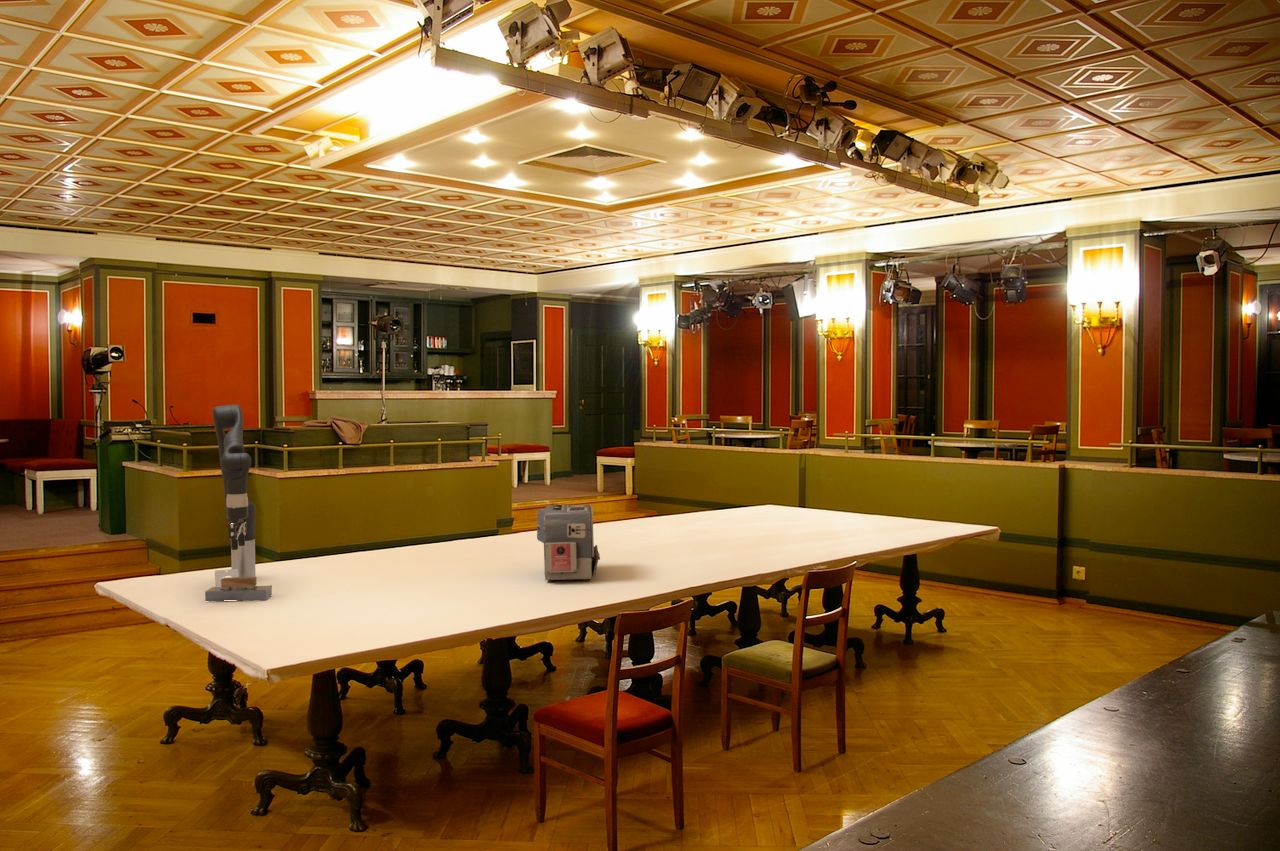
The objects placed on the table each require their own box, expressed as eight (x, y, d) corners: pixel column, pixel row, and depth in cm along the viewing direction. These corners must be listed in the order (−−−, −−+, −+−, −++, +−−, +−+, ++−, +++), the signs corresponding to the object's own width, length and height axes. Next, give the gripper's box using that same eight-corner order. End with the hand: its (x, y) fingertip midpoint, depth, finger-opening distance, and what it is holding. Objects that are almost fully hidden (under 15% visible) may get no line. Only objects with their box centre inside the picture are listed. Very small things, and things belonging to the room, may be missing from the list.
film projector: (598, 585, 384) (597, 511, 383) (526, 585, 385) (525, 511, 383) (604, 566, 423) (603, 500, 422) (538, 567, 424) (538, 500, 423)
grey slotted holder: (212, 597, 364) (212, 587, 364) (271, 595, 367) (271, 585, 367) (205, 602, 357) (205, 591, 356) (265, 600, 359) (265, 589, 359)
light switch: (216, 591, 367) (214, 568, 378) (216, 603, 370) (214, 580, 381) (240, 589, 371) (237, 566, 382) (240, 601, 373) (237, 578, 385)
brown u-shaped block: (224, 598, 363) (223, 577, 363) (256, 597, 364) (256, 576, 364) (221, 600, 360) (221, 579, 359) (254, 599, 361) (253, 578, 361)
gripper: (232, 503, 367) (233, 544, 368) (220, 508, 353) (221, 551, 354) (253, 502, 368) (254, 544, 368) (241, 507, 354) (242, 550, 354)
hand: (238, 547), depth 361 cm, fingers open, 8 cm apart
